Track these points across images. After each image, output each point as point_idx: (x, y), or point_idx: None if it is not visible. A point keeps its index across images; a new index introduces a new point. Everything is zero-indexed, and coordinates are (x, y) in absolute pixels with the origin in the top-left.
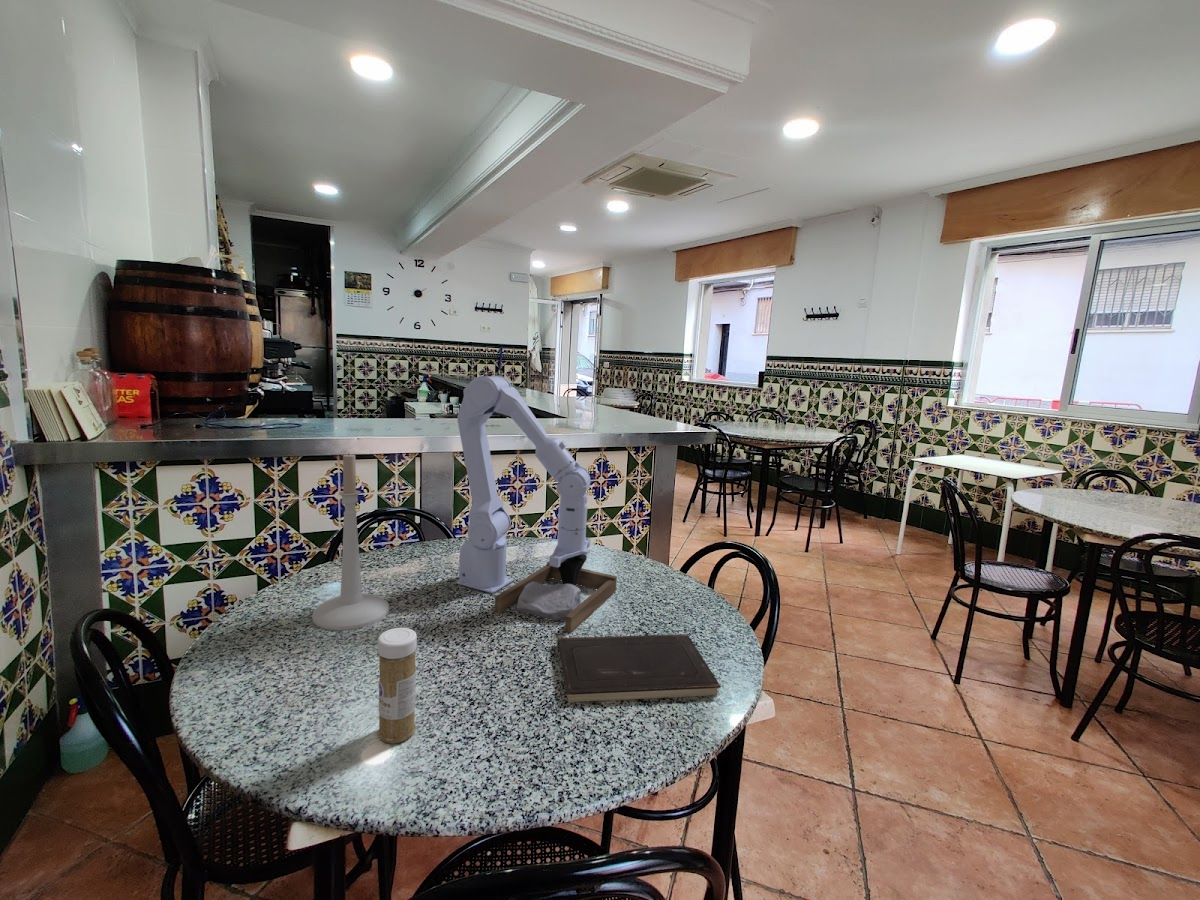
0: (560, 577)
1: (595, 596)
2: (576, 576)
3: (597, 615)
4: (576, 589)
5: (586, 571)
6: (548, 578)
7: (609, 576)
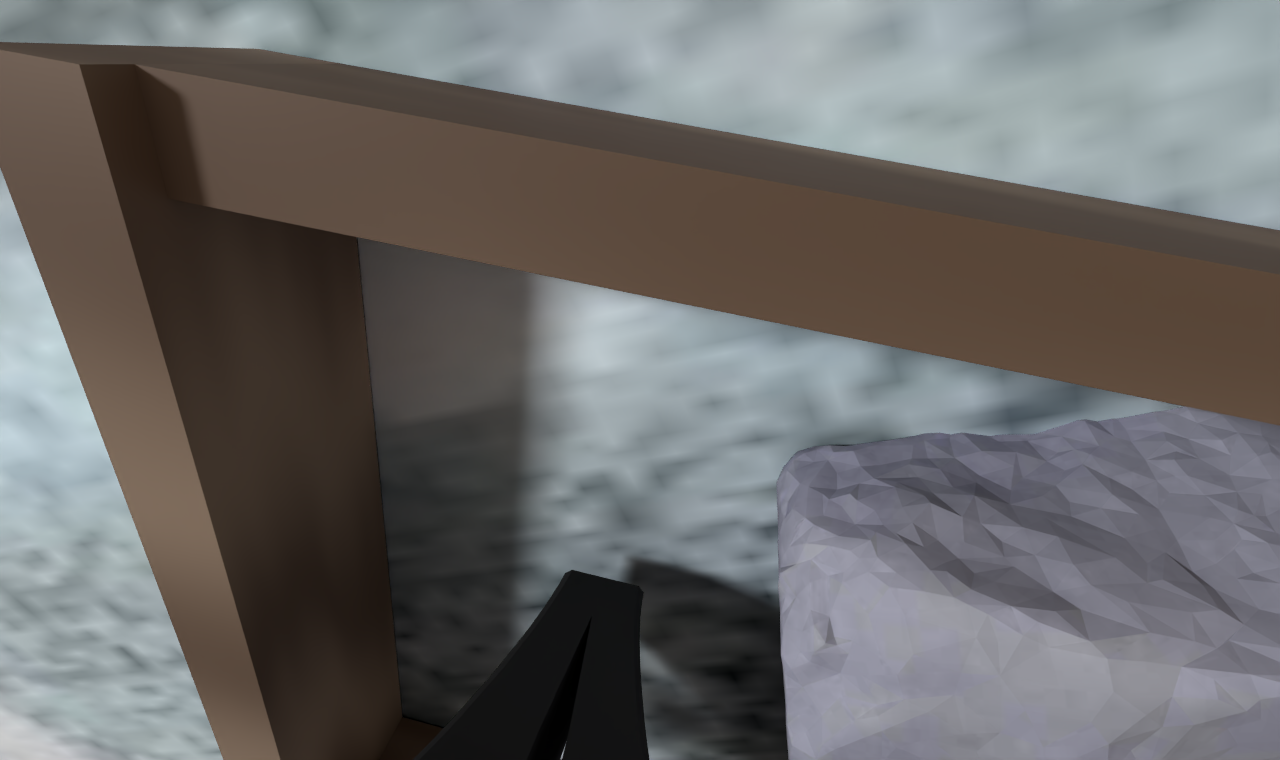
0: (379, 690)
1: (1198, 277)
2: (542, 729)
3: (1227, 105)
4: (1046, 679)
5: (228, 602)
6: None
7: (94, 216)
